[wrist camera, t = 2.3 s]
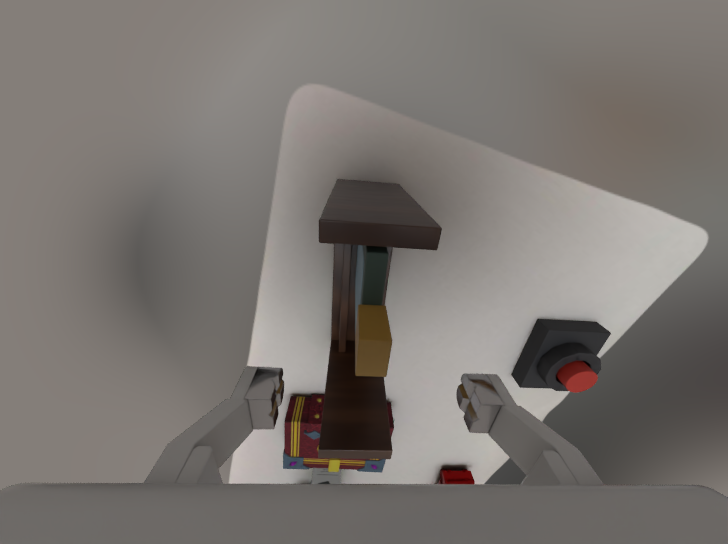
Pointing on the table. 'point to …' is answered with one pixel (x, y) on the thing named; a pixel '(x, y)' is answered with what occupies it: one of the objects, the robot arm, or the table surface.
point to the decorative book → (317, 438)
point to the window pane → (371, 313)
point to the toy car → (456, 477)
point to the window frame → (346, 231)
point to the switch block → (558, 351)
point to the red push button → (577, 376)
